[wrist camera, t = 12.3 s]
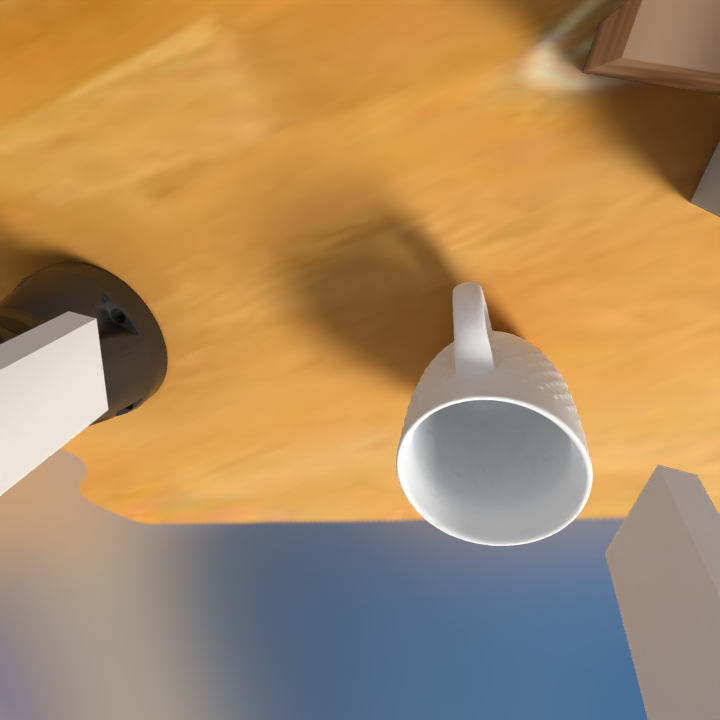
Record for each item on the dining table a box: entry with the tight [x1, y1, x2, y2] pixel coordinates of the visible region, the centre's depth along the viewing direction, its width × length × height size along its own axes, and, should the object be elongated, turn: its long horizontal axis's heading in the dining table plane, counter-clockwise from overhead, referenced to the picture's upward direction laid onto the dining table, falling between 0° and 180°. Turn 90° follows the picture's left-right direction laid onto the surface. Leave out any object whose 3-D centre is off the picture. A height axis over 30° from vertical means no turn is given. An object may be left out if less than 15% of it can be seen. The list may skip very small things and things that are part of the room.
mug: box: [396, 282, 593, 546], centre depth 32 cm, size 15×11×13 cm
